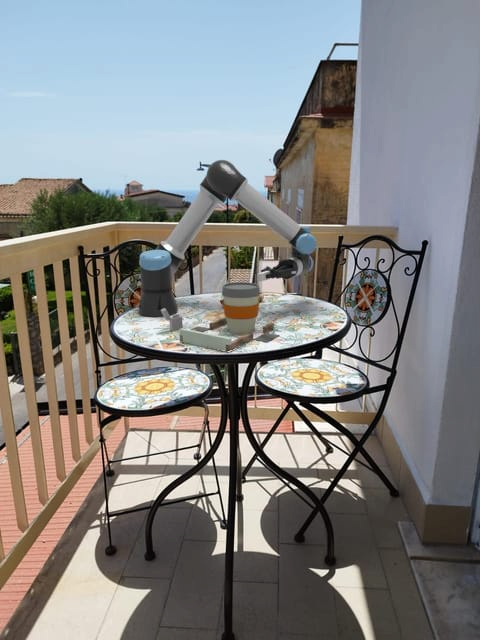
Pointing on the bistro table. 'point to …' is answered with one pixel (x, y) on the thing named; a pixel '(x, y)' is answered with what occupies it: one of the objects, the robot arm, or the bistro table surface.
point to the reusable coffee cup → (241, 306)
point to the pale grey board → (205, 339)
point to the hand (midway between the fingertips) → (259, 277)
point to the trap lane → (242, 340)
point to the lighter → (173, 320)
